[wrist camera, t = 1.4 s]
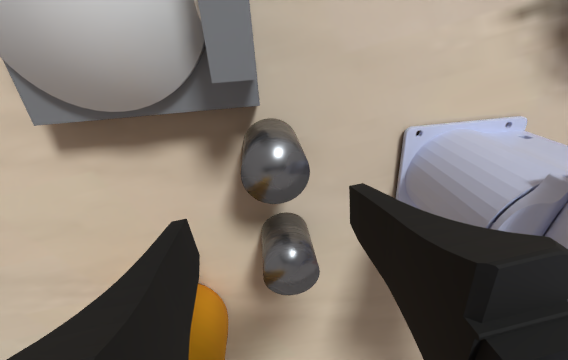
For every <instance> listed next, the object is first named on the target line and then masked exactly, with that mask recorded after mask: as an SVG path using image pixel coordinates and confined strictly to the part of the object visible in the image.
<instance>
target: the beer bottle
mask: <svg viewBox="0 0 568 360" xmlns="http://www.w3.org/2000/svg"><path fill="white" fill-rule="evenodd" d="M227 335H228V314H227V309H226V306H225V304H224V302H223V301H222V299H221V298H220V297H219V295H218V294H216V293H215V292H214V291H213V290H211V289H210V288H208V287H206V286H204V285H201V284H198V287H197V293H196V299H195V305H194V311H193V317H192V324H191V331H190V343H189V360H225V351H226V343H227Z"/></svg>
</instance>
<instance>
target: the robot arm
mask: <svg viewBox="0 0 568 360" xmlns="http://www.w3.org/2000/svg"><path fill="white" fill-rule="evenodd" d="M507 123H508V124H507ZM506 124H507V126H505V125H506ZM526 125H527V119H526V118H525V117H522V116H516V117H506V118H495V119H485V120H475V121H464V122H454V123H443V124H433V125H423V126H412V127H409V128H407V129H406V130H405V132H404V137H403V145H402V153H401V161H400V168H399V176H398V184H397V192H396V199H395V198H393V197H391V196H388V195H386V194H384V193H382V192H380V191H378V190H376V189H374V188H372V187H370V186H368V185H365V184H363V183H362V184H357V185H352V186H349V190H350V224H351V226H352V228H353V230H354V233H355V235H356V237H357V239H358V241H359V242H360V244H361V246H362V247H363V249H364V250H365V252H366V253H367V255H368V256H369V258H370V259H371V261H372V262H373V264H374V265H375V267H376V268H377V270H378V271H379V273H380V275H381V276H382V278H383V279H384V281H385V282H386V284H387V286H388V287H389V289H390V291H391V293H392V295H393V297H394V299H395V301H396V302H397V304H398V306H399V308H400V310H401V312H402V314H403V316H404V318H405V320H406V322H407V325H408V327H409V329H410V331H411V333H412V335H413V337H414V339H415V341H416V344H417V346H418V348H419V350H420V352H421V354H422V357H423V359H424V360H568V146H567V145H565V144H562V143H559V142H556V141H553V140H550V139H547V138H544V137H541V136H538V135H535V134H533V133H530V132H527V131H525V128H526ZM419 130H420V133H419V134H418V135H417V136H416V132H417V131H419ZM198 280H199V252H198V249H197V247H196V244H195V241H194V238H193V235H192V233H191V230H190V227H189V224H188V221H187V219H183V220H178V221H173V222H171V223H170V224H169V225H168V227H167V228H166V229H165V230H164V231H163V232H162V234H161V235H160V236H159V237H158V238H157V240H156V241H155V242H154V243H153V244H152V245H151V246H150V248H149V249H148V250H147V251H146V252H145V253H144V254H143V255H142V257H141V258H140V259H139V260H138V261H137V262H136V263H135V264H134V265H133V266H132V267H131V268H130V269H129V270H128V271H127V272H126V273H125V274H124V275H123V276H122V277H121V278H120V279H119V280H118V281H117V282H116V283H114V284H113V285H112V286H111V287H110V288H109V289H108V290H107V291H105V292H104V293H103V294H102V295H101V296H99V297H98V298H97V299H96V300H94V301H93V302H92V303H90V304H89V305H88V306H87V307H85V308H84V309H83V310H82V311H80V312H79V313H78V314H76V315H75V316H74V317H72V318H71V319H69V320H68V321H67V322H65V323H64V324H62V325H61V326H59V327H58V328H56V329H55V330H53V331H52V332H50V333H49V334H47V335H46V336H44V337H43V338H41V339H40V340H38V341H37V342H35V343H33V344H32V345H30V346H28V347H27V348H25V349H23V350H22V351H20V352H18V353H17V354H15V355H14V356H12V357H10V358H9V359H7V360H189V343H190V331H191V324H192V317H193V311H194V305H195V299H196V293H197V287H198Z"/></svg>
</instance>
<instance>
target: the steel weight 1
mask: <svg viewBox="0 0 568 360" xmlns="http://www.w3.org/2000/svg"><path fill="white" fill-rule="evenodd" d="M309 175H310V169H309V164H308V161H307V159H306V156H305V154H304V152H303V150H302V147H301V145H300V143H299V141H298V138H297V136H296V134H295V132H294V130H293V129H292V128H291V127H290V126H289V125H288V124H287V123H285V122H283V121H281V120H278V119H264V120H260V121H258V122H256V123H255V124H253V125H252V126H251V127H250V128H249V130H248V131H247V133H246V135H245V137H244V142H243V155H242V167H241V179H242V183H243V185H244V187H245V189H246V190H247V192H248V193H249V194H250V195H251V196H252V197H254V198H255V199H257V200H259V201H261V202H264V203H269V204H279V203H284V202H287V201H290V200H292V199H294V198H295V197H297V196H298V195H299V194H300V193H301V192H302V191H303V190H304V188H305V187H306V185H307V183H308V180H309Z"/></svg>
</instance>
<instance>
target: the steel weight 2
mask: <svg viewBox="0 0 568 360" xmlns="http://www.w3.org/2000/svg"><path fill="white" fill-rule="evenodd" d="M261 234H262V255H263V275H264V282H265V284H266V286H267V287H268V288H269V289H270V290H272V291H273V292H275V293H278V294H282V295H295V294H300V293H302V292H305V291H307V290H308V289H310V288H311V287H312V286H313V285H314V284H315V283H316V281H317V280H318V277H319V272H320V271H319V266H318V263H317V259H316V256H315V252H314V249H313V245H312V242H311V239H310V235H309V232H308V228H307V225H306V223H305V221H304V220H303V219H302V218H301V217H300V216H298V215H296V214H293V213H279V214H276V215H274V216H272V217H270V218H269V219H268V220H267V221H266V222H265V223H264V225H263V227H262V232H261Z"/></svg>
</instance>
